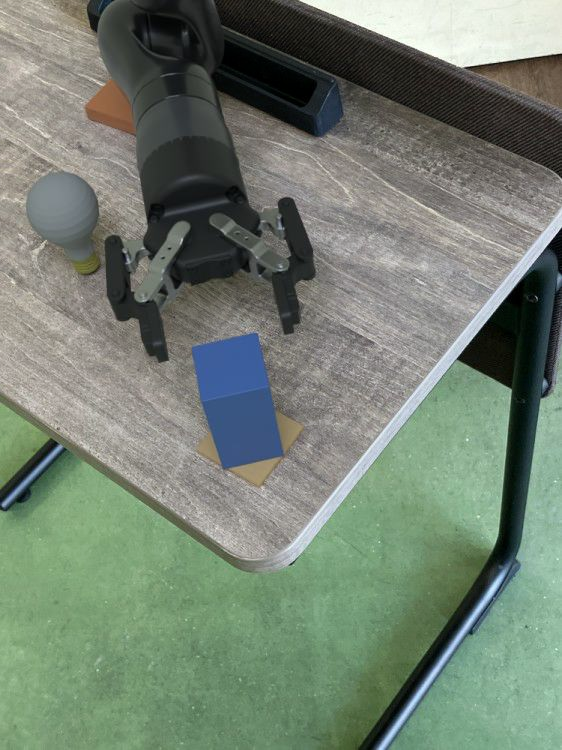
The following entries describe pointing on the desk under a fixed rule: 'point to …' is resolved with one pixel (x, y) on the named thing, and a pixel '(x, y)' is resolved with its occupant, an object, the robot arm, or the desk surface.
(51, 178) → the light bulb
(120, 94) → the orange-brown square slab
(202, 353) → the block
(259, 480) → the mat
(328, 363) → the desk surface
